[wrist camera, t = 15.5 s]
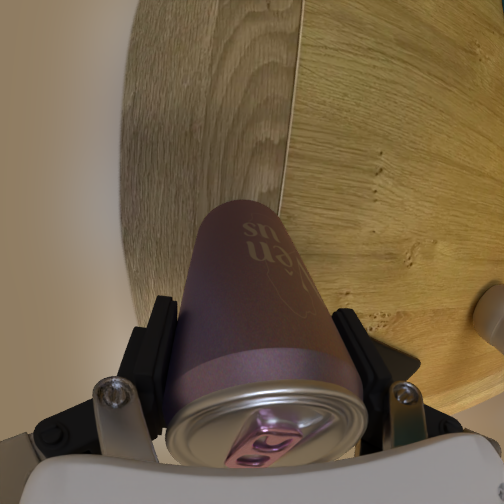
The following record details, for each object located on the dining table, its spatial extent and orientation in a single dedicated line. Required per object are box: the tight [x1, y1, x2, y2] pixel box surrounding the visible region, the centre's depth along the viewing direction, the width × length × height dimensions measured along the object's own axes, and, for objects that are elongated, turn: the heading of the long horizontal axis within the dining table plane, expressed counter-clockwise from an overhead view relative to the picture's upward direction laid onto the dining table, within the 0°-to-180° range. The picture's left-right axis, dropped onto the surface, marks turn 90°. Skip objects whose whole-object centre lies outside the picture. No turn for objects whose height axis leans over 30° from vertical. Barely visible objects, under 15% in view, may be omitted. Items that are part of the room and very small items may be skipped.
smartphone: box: [370, 337, 421, 382], centre depth 26 cm, size 8×1×16 cm
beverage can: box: [162, 200, 368, 468], centre depth 13 cm, size 6×6×15 cm
